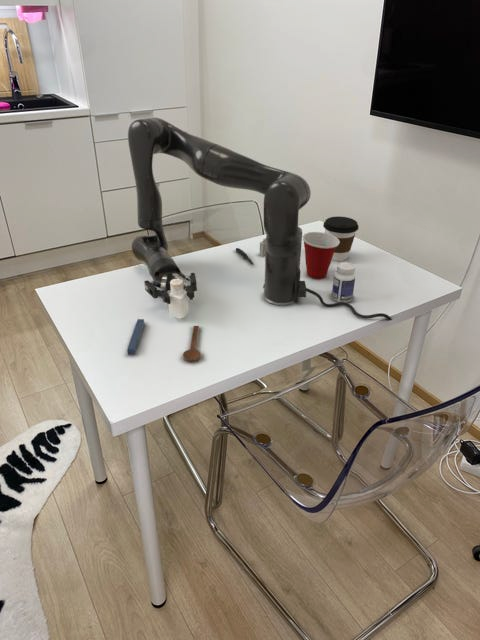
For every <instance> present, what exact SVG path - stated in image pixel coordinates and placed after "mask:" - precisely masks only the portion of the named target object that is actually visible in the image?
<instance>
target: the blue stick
mask: <svg viewBox="0 0 480 640" xmlns="http://www.w3.org/2000/svg"><path fill="white" fill-rule="evenodd" d="M144 327H145V319H144V318H137V321H136V323H135V326H134V329H133V331H132V335H131V338H130V340H129V343H128V346H127V349H126V351H127V355H128V356H129V355H130V356H131V355H132V356H134V355H136V352H137V350H138V346H139V343H140V340H141V337H142V333H143V330H144Z"/></svg>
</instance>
